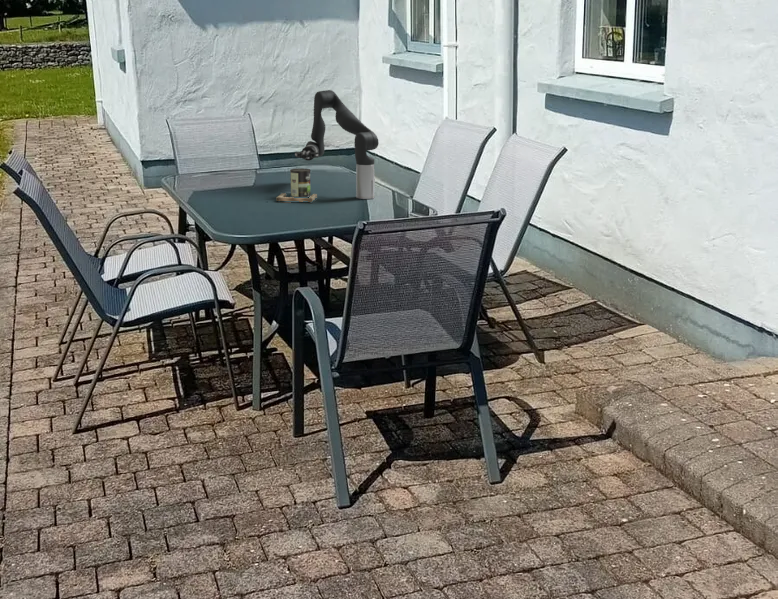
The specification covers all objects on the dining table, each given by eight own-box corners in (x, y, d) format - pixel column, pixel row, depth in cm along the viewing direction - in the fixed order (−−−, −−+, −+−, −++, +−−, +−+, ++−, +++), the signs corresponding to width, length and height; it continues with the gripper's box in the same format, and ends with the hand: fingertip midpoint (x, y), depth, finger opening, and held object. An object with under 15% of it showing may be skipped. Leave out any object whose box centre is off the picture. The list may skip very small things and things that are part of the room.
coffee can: (313, 195, 507) (312, 168, 504) (307, 199, 498) (307, 171, 494) (293, 195, 509) (293, 167, 506) (288, 198, 500) (287, 170, 496)
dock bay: (316, 198, 500) (316, 194, 499) (312, 203, 486) (312, 198, 486) (282, 197, 502) (282, 193, 501) (276, 202, 488) (276, 197, 488)
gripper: (297, 145, 524) (291, 149, 508) (321, 145, 523) (316, 149, 506) (297, 159, 526) (291, 163, 510) (321, 159, 525) (316, 164, 508)
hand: (303, 156), depth 508 cm, fingers closed
